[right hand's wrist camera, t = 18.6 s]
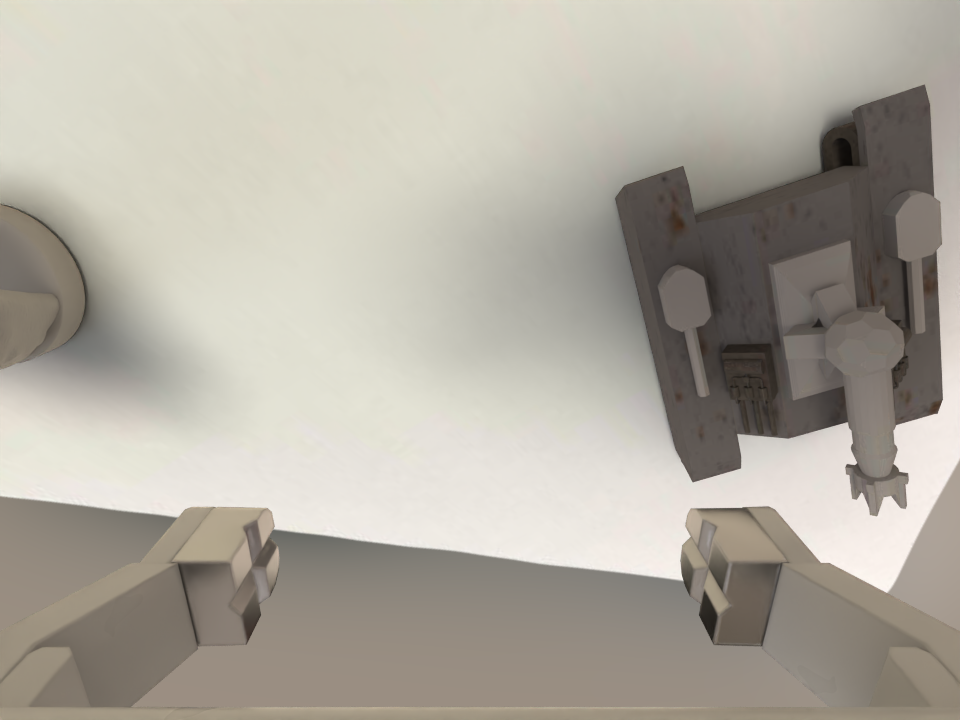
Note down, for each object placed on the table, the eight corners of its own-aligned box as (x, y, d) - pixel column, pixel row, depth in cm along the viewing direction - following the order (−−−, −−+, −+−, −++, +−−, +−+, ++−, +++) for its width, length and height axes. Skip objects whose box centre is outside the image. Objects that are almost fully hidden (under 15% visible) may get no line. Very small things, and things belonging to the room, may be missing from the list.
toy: (607, 183, 42) (672, 194, 28) (872, 92, 40) (1088, 53, 26) (673, 454, 50) (748, 568, 36) (895, 391, 48) (1067, 487, 34)
